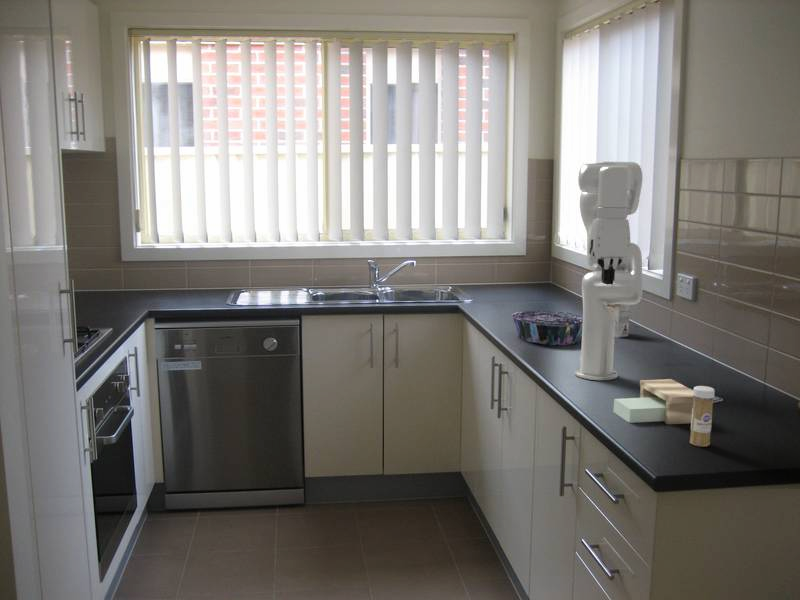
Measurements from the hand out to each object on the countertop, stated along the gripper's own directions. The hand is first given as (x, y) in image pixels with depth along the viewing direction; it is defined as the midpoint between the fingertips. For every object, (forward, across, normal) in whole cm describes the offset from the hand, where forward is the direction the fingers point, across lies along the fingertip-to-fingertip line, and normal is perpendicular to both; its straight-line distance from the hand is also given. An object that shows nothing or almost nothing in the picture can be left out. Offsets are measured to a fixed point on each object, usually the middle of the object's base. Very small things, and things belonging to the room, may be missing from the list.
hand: (607, 283), depth 224 cm
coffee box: (+32, -42, -79) cm, 95 cm away
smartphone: (+33, -28, -1) cm, 43 cm away
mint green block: (+32, -7, +14) cm, 36 cm away
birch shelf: (+32, -12, +14) cm, 37 cm away
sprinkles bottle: (+32, -8, +36) cm, 49 cm away
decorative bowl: (+32, -15, -75) cm, 83 cm away
